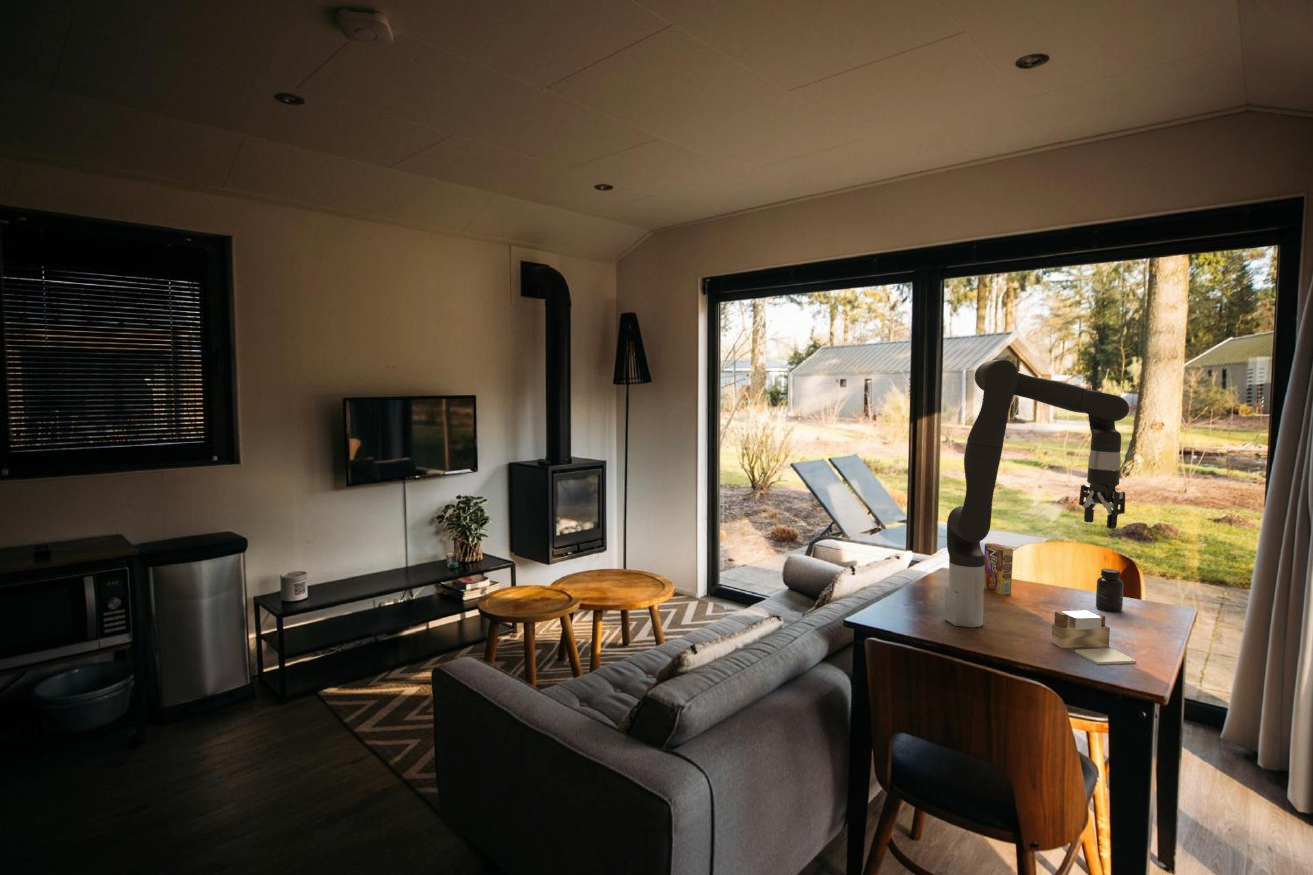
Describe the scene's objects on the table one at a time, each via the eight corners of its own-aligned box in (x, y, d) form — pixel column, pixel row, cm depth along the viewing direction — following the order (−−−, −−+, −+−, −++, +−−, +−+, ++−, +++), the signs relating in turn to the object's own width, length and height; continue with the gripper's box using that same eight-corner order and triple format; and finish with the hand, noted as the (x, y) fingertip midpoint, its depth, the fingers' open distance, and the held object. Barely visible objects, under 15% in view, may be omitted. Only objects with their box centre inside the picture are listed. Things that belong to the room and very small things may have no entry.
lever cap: (1075, 629, 178) (1075, 618, 178) (1061, 622, 184) (1061, 611, 183) (1100, 628, 179) (1101, 617, 178) (1086, 621, 184) (1086, 610, 184)
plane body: (1061, 647, 179) (1062, 615, 178) (1051, 642, 183) (1052, 610, 182) (1108, 646, 180) (1110, 614, 179) (1097, 640, 184) (1099, 609, 183)
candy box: (1012, 594, 226) (1014, 548, 225) (1001, 595, 225) (1002, 549, 224) (993, 587, 234) (994, 542, 233) (982, 587, 234) (983, 543, 233)
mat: (1097, 664, 168) (1097, 661, 168) (1075, 651, 176) (1075, 649, 176) (1136, 662, 169) (1136, 660, 169) (1112, 650, 177) (1112, 648, 177)
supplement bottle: (1126, 613, 207) (1128, 573, 206) (1101, 611, 208) (1102, 572, 207) (1116, 606, 213) (1118, 567, 213) (1091, 604, 215) (1093, 566, 214)
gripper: (1073, 464, 199) (1069, 520, 200) (1110, 470, 185) (1106, 530, 186) (1097, 465, 200) (1093, 520, 201) (1136, 470, 186) (1132, 530, 187)
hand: (1099, 525), depth 194 cm, fingers open, 8 cm apart
